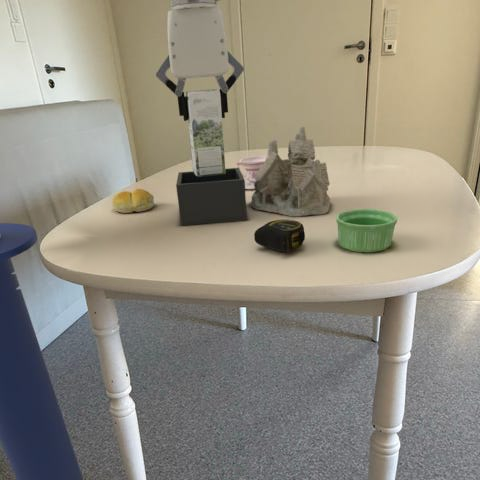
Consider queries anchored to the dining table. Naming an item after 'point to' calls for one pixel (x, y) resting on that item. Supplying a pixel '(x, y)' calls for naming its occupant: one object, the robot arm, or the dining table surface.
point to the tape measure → (280, 235)
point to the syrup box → (206, 132)
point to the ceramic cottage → (292, 180)
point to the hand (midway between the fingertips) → (204, 117)
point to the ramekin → (365, 229)
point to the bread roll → (133, 201)
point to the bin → (211, 197)
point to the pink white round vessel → (251, 169)
